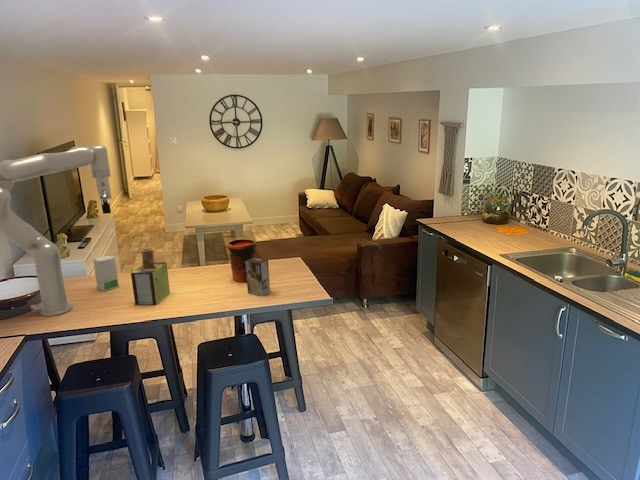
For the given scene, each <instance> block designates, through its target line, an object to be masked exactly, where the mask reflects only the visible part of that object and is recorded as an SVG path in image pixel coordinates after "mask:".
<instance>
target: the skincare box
mask: <svg viewBox="0 0 640 480" xmlns="http://www.w3.org/2000/svg"><path fill="white" fill-rule="evenodd" d="M93 268H94V274H95V280H96V288H97V290H100V291H101V292H106V291H110V290H113V289H117V288H119V287H120V286H119V277H118V271H117V262H116V257H115V256H111V255H106V256H101V257H96V258H93Z"/></svg>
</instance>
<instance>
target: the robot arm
mask: <svg viewBox="0 0 640 480" xmlns="http://www.w3.org/2000/svg"><path fill="white" fill-rule="evenodd" d="M88 165H90V170H91V171H90V172H91V178H92V179H95V184H96V189H97V194H98V199H99V200H100V202H101V210H102V214H104V215H106V214H112V212H111V205H110V202H109V199H110V200H112V198H113V197H112V193H111V191H112V190H111V186H110V185H111V184H110V180H109V178H111V177H112V175H111V171H110V170H111V168H110V161H109V155H108V149H107V146H105V145H91V146H82V145H81V146H78V145H76V146H72V147H71V148H70V149H69V150H67V151H66V150H65V151H63V152H61V151H60V152H48V153H39V154H34V155H31V156H26V157H21V158H18V159H17V158H16V159H13V160H12V159H4V160H2V161H1V162H0V232H1V233H2V234H4V235H5V236H6V237H7V238H8V239H9V241H11V242H12V243H13V244H14V245H16V246H17V247H19V248H20V249H21V250H22V251H24V252H26V253H27V254H28V255H29V256H31V258H33V259H34V265H35V273H36V279H37V283H38V287H39V293H40V294H39V295H40V298H41V302H39V303H38V304H31V305H30V309H31V310H33V311H35V312H36V311H39V315H41V316H44V317H54V316H59V315H63V314H65V313H67V312H69V311H71V310H72V309H73V305H72V304H71V303H70V302H68V298H67V293H66V287H65V282H64V277H63V276H64V275H63V271H62V264H61V263H62V262H61V259H62V258H61V252H60V249H59V248H58V246H57V245H56V244H55V243H54V242H52V241H50V240H49V239H47V238H46V237H45V236H44V235H43V234H41V233H40V232H39V231H37V229H35V227H34V226H33V225H31V224H30V223H28V222H25V220H23V219H22V218H21V217H19V216H18V215H17V214H16V213H15V212H14V211H13V210H12V209H11V207H10V206H11V205H10V204H11V199H12V195H11V193H10V191H11V189H12V188H13V186H14V184H15V183H18V182H22V181H27V180H30V179H34V178H38V177H41V176H47V175H50V174H55V173H60V172H65V171H69V170H75V169H78V168H81V167H86V166H88Z"/></svg>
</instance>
